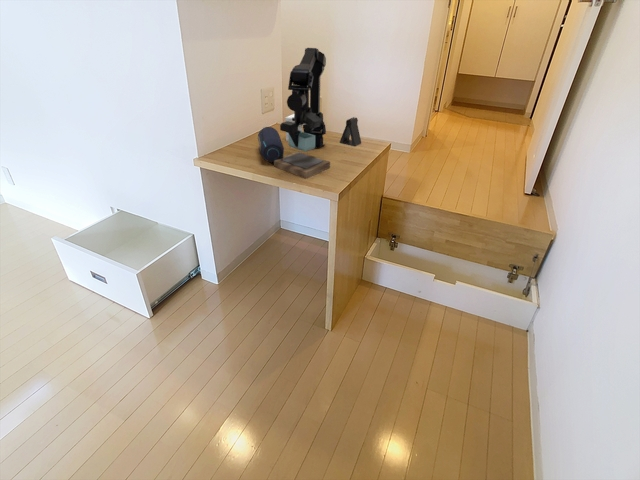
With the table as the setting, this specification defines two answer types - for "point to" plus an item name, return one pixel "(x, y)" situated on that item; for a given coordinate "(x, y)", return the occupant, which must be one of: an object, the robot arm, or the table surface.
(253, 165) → the table surface
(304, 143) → the box
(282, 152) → the portable speaker
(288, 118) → the ink box
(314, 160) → the walnut stand
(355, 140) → the phone stand
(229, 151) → the table surface
